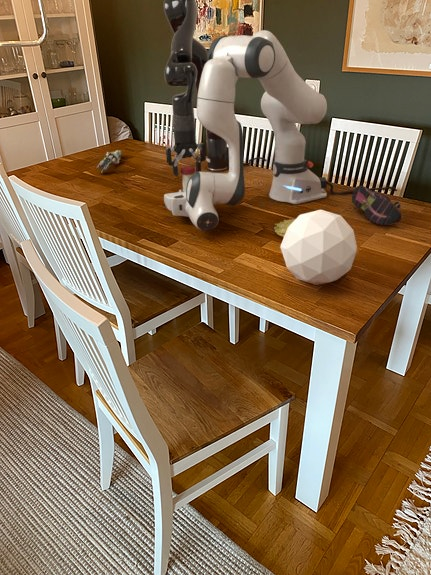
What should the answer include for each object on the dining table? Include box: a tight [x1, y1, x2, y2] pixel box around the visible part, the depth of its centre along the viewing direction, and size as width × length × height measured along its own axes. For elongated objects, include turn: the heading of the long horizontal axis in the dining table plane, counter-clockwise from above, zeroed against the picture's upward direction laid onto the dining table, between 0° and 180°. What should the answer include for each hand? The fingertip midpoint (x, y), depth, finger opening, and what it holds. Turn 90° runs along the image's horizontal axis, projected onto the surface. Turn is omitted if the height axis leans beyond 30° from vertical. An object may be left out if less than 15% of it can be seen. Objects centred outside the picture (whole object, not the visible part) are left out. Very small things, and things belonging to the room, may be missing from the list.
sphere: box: [279, 209, 358, 286], centre depth 117 cm, size 19×20×20 cm
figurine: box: [96, 150, 123, 174], centre depth 213 cm, size 7×8×30 cm
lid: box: [180, 164, 196, 175], centre depth 159 cm, size 5×5×2 cm
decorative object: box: [273, 218, 296, 238], centre depth 145 cm, size 21×2×20 cm
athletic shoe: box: [351, 185, 403, 226], centre depth 153 cm, size 11×22×12 cm
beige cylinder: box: [181, 173, 194, 192], centre depth 163 cm, size 4×4×15 cm
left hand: (187, 174), depth 160 cm, fingers open, 7 cm apart
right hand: (188, 190), depth 164 cm, fingers closed on beige cylinder, 4 cm apart
